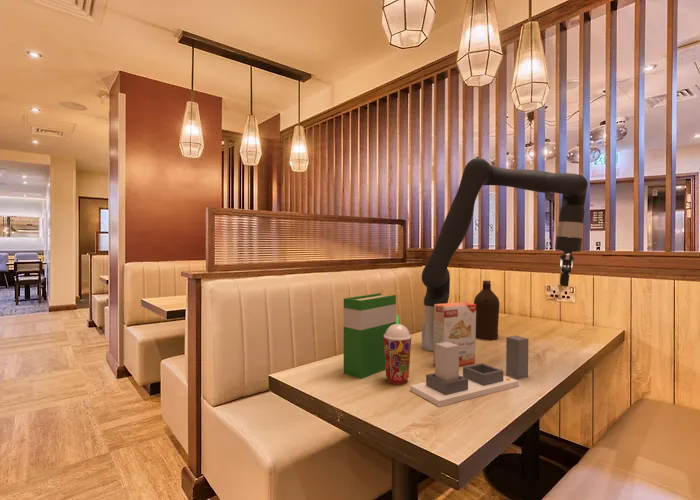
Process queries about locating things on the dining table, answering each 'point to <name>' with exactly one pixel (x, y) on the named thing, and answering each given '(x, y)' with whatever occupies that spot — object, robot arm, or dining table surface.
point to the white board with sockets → (459, 379)
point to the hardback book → (366, 333)
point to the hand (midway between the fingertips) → (563, 285)
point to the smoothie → (397, 353)
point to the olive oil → (487, 313)
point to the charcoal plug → (517, 357)
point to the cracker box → (456, 328)
